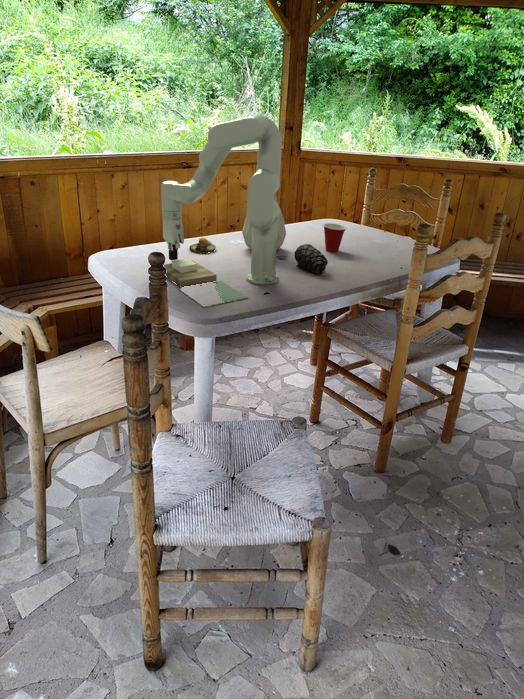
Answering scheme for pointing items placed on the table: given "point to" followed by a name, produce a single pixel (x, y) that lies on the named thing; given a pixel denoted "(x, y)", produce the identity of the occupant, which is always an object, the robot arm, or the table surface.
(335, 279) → the table surface
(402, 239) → the table surface
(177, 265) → the tile
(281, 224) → the vase
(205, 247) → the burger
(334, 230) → the plastic cup
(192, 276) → the wooden board
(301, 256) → the pine cone
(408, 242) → the table surface
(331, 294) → the table surface
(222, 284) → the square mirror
